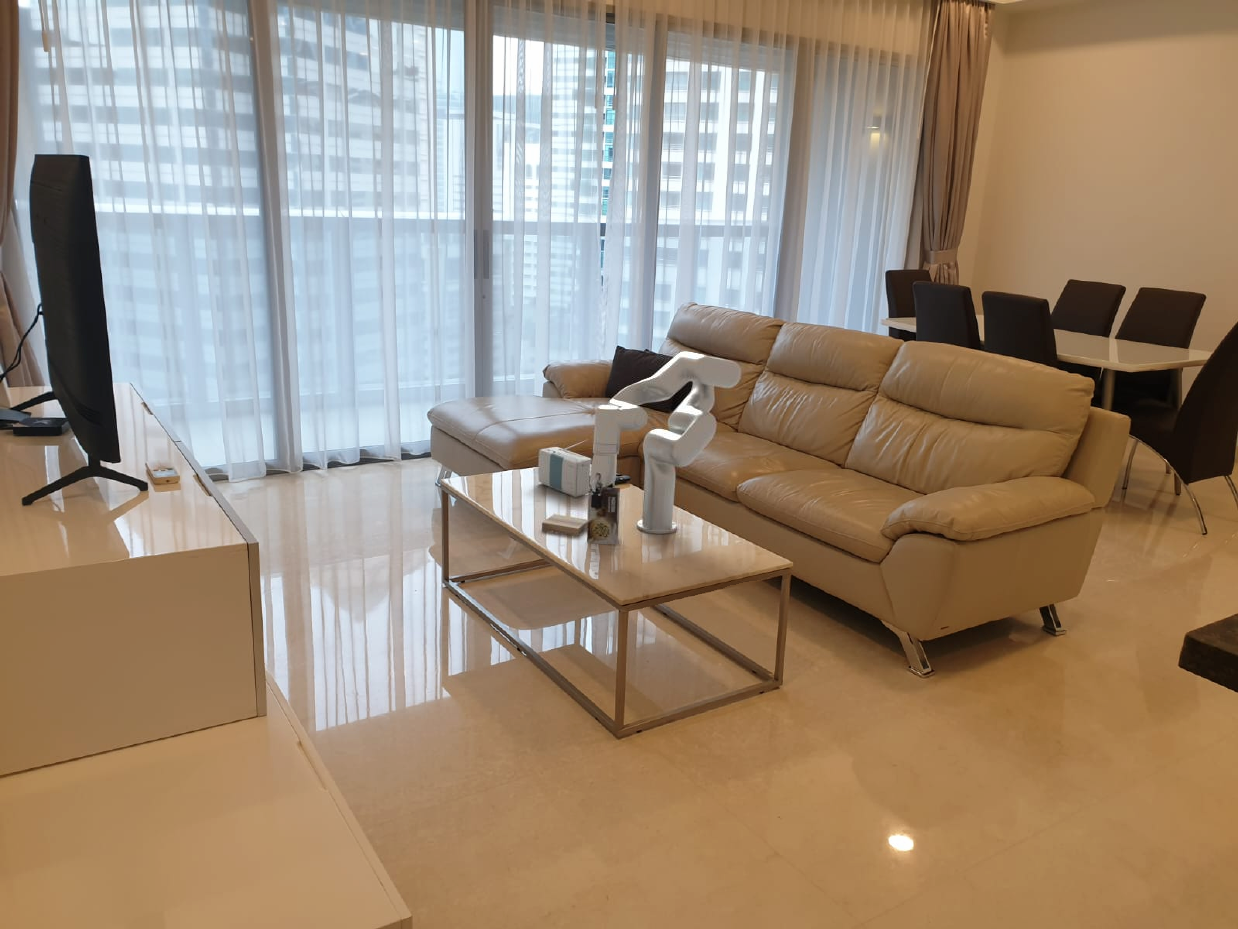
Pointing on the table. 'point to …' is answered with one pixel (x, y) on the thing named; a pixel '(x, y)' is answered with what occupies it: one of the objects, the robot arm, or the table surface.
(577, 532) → the flat wooden block
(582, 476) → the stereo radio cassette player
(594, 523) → the coffee box
